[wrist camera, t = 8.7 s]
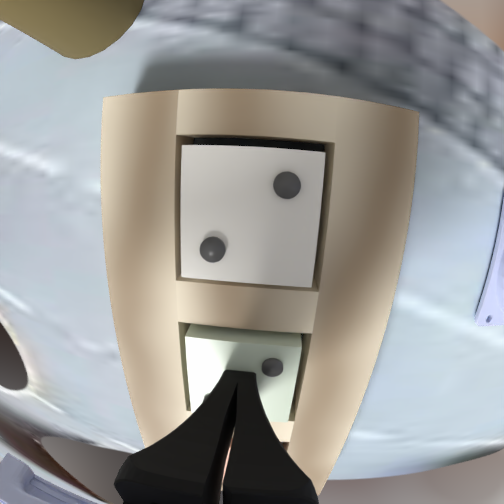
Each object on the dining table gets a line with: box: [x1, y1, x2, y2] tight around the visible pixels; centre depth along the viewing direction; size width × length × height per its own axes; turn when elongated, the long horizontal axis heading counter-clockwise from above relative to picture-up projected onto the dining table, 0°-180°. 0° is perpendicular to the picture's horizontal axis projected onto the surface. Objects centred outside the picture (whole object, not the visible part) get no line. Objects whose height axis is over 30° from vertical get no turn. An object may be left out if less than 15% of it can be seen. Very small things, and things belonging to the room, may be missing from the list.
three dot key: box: [185, 323, 302, 422], centre depth 14 cm, size 5×5×3 cm
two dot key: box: [181, 145, 325, 288], centre depth 12 cm, size 5×5×3 cm
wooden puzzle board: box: [101, 89, 419, 495], centre depth 15 cm, size 12×24×2 cm, turn 177°
